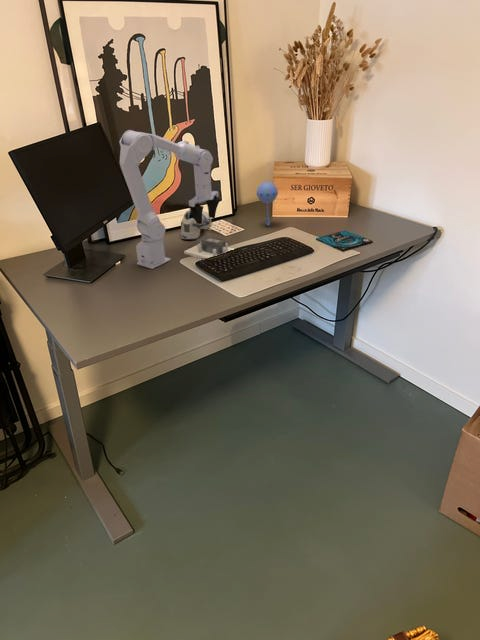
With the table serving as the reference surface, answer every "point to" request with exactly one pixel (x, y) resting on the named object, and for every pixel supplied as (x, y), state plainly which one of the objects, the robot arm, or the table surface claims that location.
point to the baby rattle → (267, 195)
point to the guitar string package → (344, 240)
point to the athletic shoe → (194, 225)
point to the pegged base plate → (198, 252)
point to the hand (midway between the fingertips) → (205, 220)
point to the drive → (213, 245)
